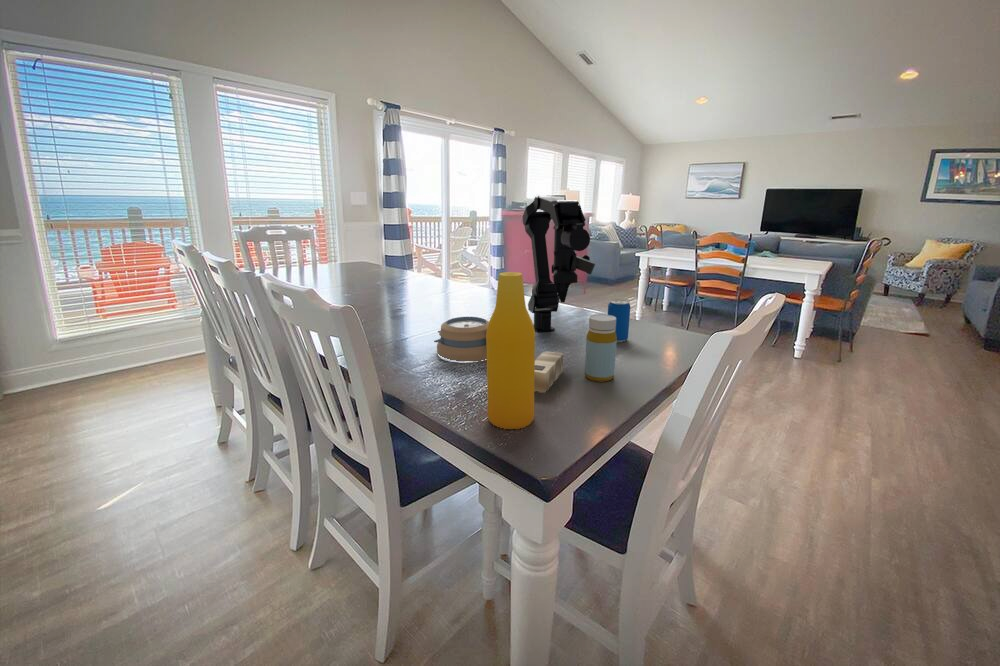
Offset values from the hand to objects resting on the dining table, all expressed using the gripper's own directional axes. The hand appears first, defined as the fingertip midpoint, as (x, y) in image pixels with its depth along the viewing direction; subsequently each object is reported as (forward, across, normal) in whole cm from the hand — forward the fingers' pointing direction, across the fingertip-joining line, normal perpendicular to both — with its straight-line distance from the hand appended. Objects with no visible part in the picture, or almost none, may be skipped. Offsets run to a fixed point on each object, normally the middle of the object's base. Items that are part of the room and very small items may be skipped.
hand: (562, 302), depth 128 cm
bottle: (+13, -24, -8) cm, 28 cm away
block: (+11, -20, +3) cm, 23 cm away
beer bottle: (+13, -47, +12) cm, 50 cm away
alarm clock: (+13, -8, +24) cm, 29 cm away
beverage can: (+13, +6, -17) cm, 22 cm away
